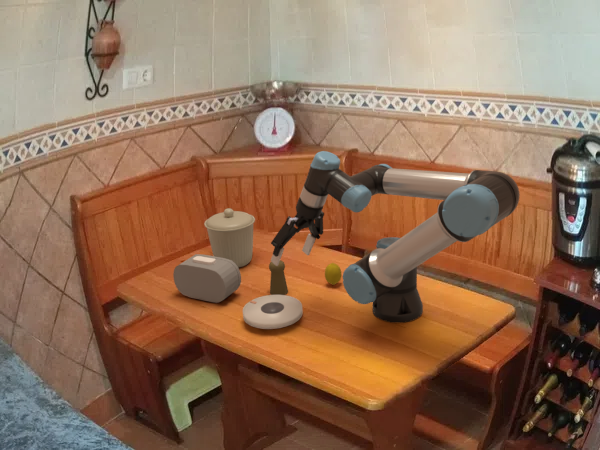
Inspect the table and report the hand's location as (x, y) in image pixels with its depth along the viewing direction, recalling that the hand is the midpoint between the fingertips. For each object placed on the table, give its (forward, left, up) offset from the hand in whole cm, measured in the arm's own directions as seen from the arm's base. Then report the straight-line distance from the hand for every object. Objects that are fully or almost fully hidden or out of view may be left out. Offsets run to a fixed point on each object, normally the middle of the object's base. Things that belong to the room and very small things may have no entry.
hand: (290, 257), depth 208 cm
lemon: (-3, -19, -17) cm, 25 cm away
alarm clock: (+29, +7, -17) cm, 35 cm away
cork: (+10, -6, -17) cm, 21 cm away
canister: (+39, -17, -17) cm, 46 cm away
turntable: (0, +10, -15) cm, 18 cm away
